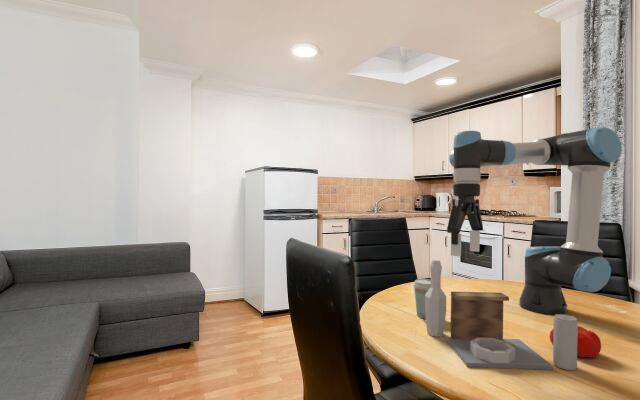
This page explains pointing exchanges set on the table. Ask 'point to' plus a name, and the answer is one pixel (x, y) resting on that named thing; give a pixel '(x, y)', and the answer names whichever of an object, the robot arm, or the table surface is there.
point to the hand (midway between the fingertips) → (465, 253)
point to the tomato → (585, 342)
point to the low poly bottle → (435, 302)
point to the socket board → (498, 353)
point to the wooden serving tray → (477, 315)
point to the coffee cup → (421, 295)
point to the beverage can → (565, 341)
